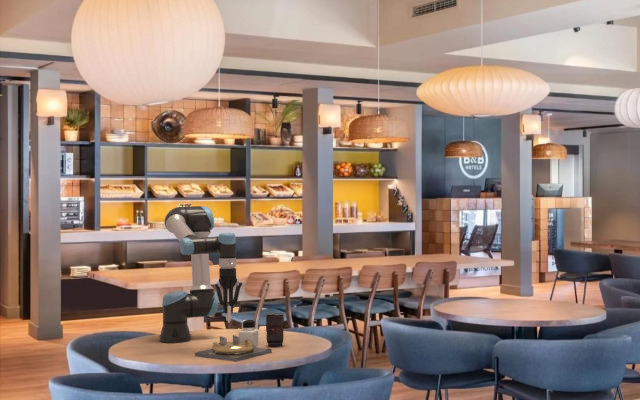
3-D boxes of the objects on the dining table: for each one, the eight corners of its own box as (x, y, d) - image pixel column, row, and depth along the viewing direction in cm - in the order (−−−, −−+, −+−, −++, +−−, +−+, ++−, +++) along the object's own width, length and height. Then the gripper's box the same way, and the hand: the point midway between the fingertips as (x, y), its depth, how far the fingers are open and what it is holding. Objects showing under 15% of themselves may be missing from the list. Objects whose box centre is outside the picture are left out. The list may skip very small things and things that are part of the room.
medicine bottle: (258, 344, 428) (258, 319, 428) (252, 347, 421) (252, 321, 421) (244, 344, 430) (244, 318, 430) (238, 346, 424) (238, 320, 423)
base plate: (194, 355, 402) (194, 352, 402) (230, 347, 422) (230, 343, 422) (236, 361, 388) (236, 357, 388) (271, 352, 408) (271, 348, 408)
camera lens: (281, 347, 420) (281, 315, 419) (264, 347, 421) (264, 314, 421) (285, 344, 427) (285, 312, 427) (269, 344, 429) (268, 312, 429)
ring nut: (259, 351, 400) (259, 339, 400) (220, 355, 393) (220, 342, 393) (245, 345, 417) (245, 333, 417) (207, 348, 409) (207, 336, 409)
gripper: (216, 268, 404) (217, 322, 404) (244, 267, 409) (245, 320, 409) (211, 267, 410) (212, 320, 411) (238, 266, 416) (239, 318, 416)
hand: (228, 320), depth 410 cm, fingers closed
